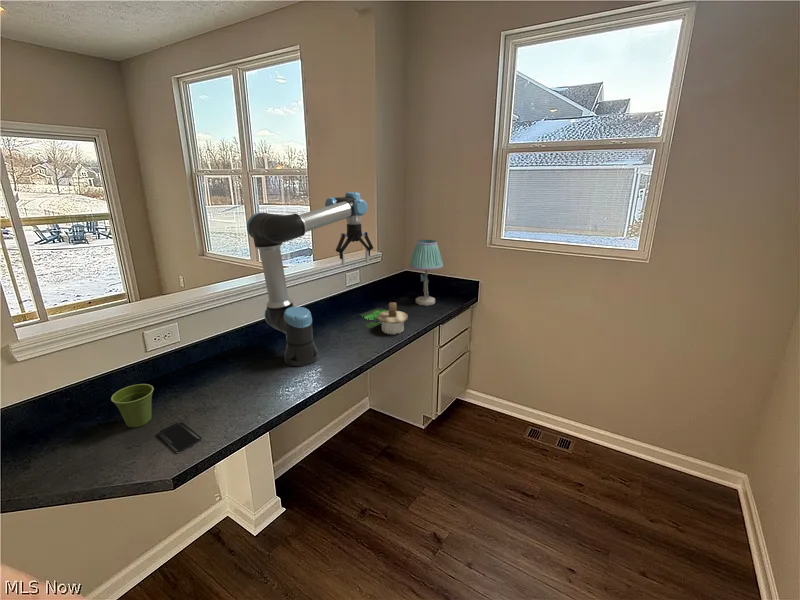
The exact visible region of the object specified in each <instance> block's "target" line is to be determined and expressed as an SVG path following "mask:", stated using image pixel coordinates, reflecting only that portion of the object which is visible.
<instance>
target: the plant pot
mask: <svg viewBox="0 0 800 600" xmlns="http://www.w3.org/2000/svg"><path fill="white" fill-rule="evenodd" d="M154 390H155V388H154V386H153V385H151V384H150V383H149V384H148V383H139V384H132V385H129V386H125V387H124V388H123V387H122V388H121V389H119V390H116V392H115V393H113V394H112V396H111V397H110V401H111V402H112V403H114V404H115V406H116V407H117V409H118V410H119V413H120V415H121V416H122V418H123V422H124V423H125V425H126V426H127V427H128V428H138V427H139V428H140V427H143V426H145V425H146V424H148V423H149V422H150V421H151V420H152V397H153V392H154Z"/></svg>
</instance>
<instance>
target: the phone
mask: <svg viewBox="0 0 800 600" xmlns="http://www.w3.org/2000/svg"><path fill="white" fill-rule="evenodd" d="M156 434H157V436H158V438H159V439H161V440H162V441H163V442H164V441H165V442H166V443H167V444H168V445H169V448H171V449H172V450H173V449H174V450H175V451H176V452H181V451H183V450H185V449H187V448H189V447H191V445H193V444H195V443H197V442H199V441H201V439H202V438H203V437H201V435H200V434H197V432H195V431H194V430H193V429H191V428H190V427H189V426H188V425H186V424H185V423H184V422H182V421H178V422H176V423H174V424H172V425H170V426H167V427H165V428H163V429H160V430H159V431H158V432H157V433H156ZM202 440H203V439H202ZM165 442H164V443H165ZM201 442H202V441H201ZM166 443H165V444H166ZM167 444H166V445H167ZM168 445H167V446H168ZM174 450H173V451H174ZM187 450H188V449H187ZM175 451H174V452H175ZM185 451H186V450H185ZM176 452H175V453H176ZM183 452H184V451H183ZM181 453H182V452H181Z"/></svg>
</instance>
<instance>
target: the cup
mask: <svg viewBox="0 0 800 600" xmlns="http://www.w3.org/2000/svg"><path fill="white" fill-rule="evenodd" d="M404 328H405V321H404V322H402V323H396V324H390V323H384V322H382V325H381V331H382V332H383V333H385V334H386V333H387V335H398V334H402V333H401V332H403V331H404V330H405V329H404ZM397 333H398V334H397Z"/></svg>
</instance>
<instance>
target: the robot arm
mask: <svg viewBox="0 0 800 600" xmlns="http://www.w3.org/2000/svg"><path fill="white" fill-rule="evenodd" d="M367 211H368V204H367V202H366V201H365V200H364V199H362V198H361V193H360V192H356V191H348V192H345V196H339V197H336V196H335V197H333V196H332V197H328V198H327V199H325V203H324V207H321V208H318V209H315V210H311V211H306V212H303V213H301V214H298V213H292V214H284V215H283V214H273V213H268V212H257V213H254V214H253V215H251V216H250V217H249V218H248V221H247V222H246V230H247V233H248V235H249V236H250V237H251V238H252V239H253V245H254V247H255V248H256V249H258V251H259V255H260V259H261V265H262V270H263V275H264V281H265V286H266V287H265V288H266V292H267V296H268V297H267V298H268V302H267V303H266V309H265V310H264V320H265V321H266V323H267V324H268V325H269V326H270V327H271V328H273V329H274V330H277V331H280V332H282V333H284V334H285V338H286V339H285V340H286V347H285V351H284V355H283V357H284V360H283V361H284V364H286V365H288V366H290V367H291V366H292V367H305V366H309V365H313V363H315V362H316V361H318V360H319V351H318V348H317V345H316V344H315V341H314V333H313V332H314V330H313V317H312V313H311V311H310V310H309V309H308V308H306V307H302V306H294V302H293V299H292V298H290V297H289V294H288V288H287V283H286V282H287V281H286V276H285V269H284V264H283V258H282V252H281V246H282V245H283V243H286V242H288V241H293V240H295V239H298V238H301V237H303V236H305V235H306V233H307V232H310V231H313V230H316V229H319V228H322V227H325V226H328V225H331V224H335V223H336V222H337V223H338V222H339V221H343V220H345V219H346V223H347V224H346V233H342V232H341V234H340V239H339V241H338V243H337V245H336V249H335V252H337V253H339V260H341V265H342V266H345V265H346V262H345V259H346V258H345V252H344V251H345V250H346V249H347V247H348V245H349V244H350V243H351V242H352V243H354V242H360V244H361V245H362V246H363V247H364V248H365V251H364V252H365V254H364V255H365V263H367V264H369V263H370V257H371V250H373V249H374V246H373V243H372V242H371V240H370V238H369V234H368V232H366V231H364V232H362V216H364V215H365V214H366V213H367ZM362 237H364V239H365V241H364V240H363V238H362ZM345 239H346V240H345Z"/></svg>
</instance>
